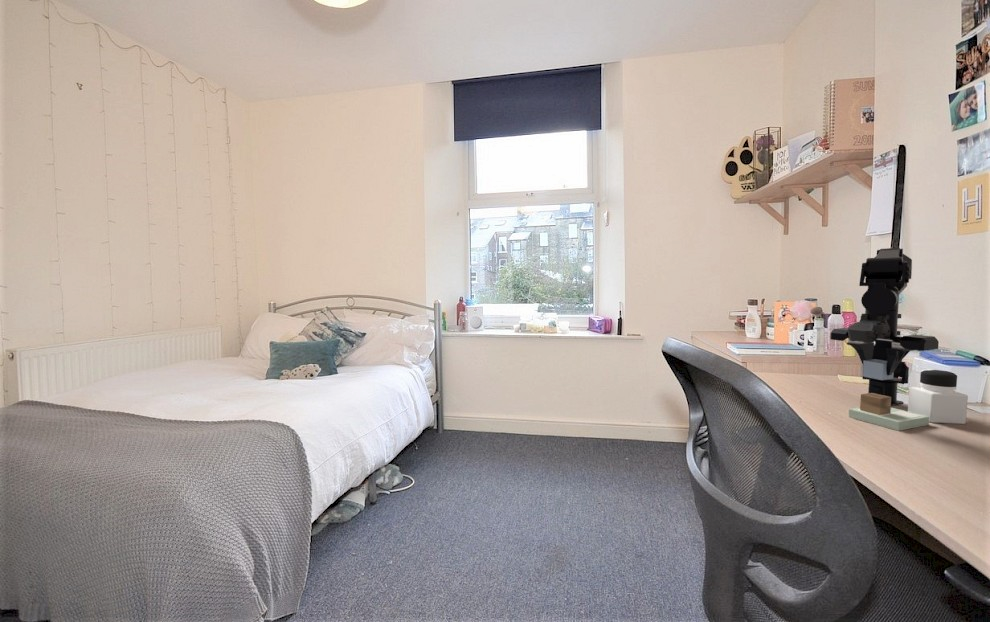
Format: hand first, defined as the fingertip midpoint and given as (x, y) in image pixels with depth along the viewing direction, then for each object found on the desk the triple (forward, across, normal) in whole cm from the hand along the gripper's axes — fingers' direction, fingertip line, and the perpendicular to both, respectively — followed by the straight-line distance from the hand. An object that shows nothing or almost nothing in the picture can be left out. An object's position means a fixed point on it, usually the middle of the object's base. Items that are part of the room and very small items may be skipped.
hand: (878, 373), depth 98 cm
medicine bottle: (+12, +4, +14) cm, 19 cm away
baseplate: (+12, +1, +2) cm, 12 cm away
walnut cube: (+10, 0, 0) cm, 10 cm away
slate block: (+1, 0, 0) cm, 1 cm away
